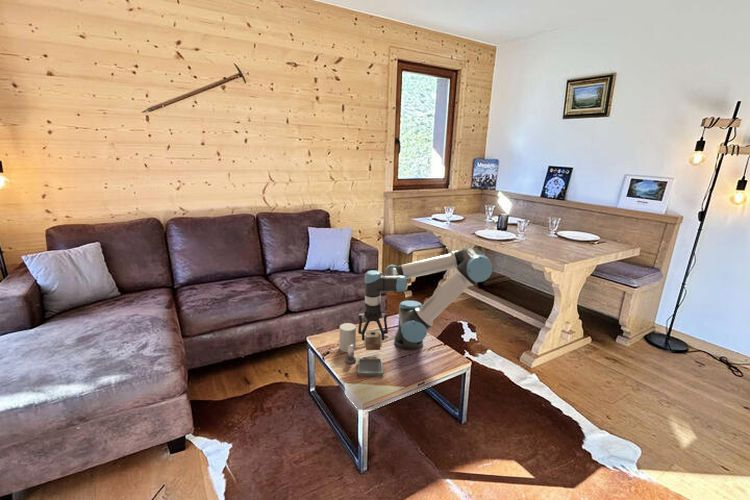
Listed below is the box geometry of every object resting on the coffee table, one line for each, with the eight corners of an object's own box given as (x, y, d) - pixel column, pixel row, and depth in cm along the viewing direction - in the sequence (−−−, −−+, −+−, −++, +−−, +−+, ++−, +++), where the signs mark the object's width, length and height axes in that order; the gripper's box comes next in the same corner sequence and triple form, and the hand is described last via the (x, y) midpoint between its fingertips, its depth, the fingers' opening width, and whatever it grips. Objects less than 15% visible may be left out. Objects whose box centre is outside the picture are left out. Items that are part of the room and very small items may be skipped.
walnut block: (379, 342, 189) (379, 330, 187) (380, 350, 182) (380, 337, 180) (365, 342, 189) (365, 330, 187) (365, 350, 182) (365, 337, 180)
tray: (381, 362, 182) (381, 358, 181) (382, 376, 171) (383, 372, 170) (358, 361, 181) (358, 358, 181) (357, 375, 170) (357, 372, 170)
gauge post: (356, 358, 184) (356, 342, 182) (355, 364, 179) (356, 348, 177) (345, 358, 184) (345, 342, 182) (345, 363, 179) (345, 348, 177)
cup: (353, 353, 189) (353, 331, 185) (337, 351, 190) (337, 329, 187) (357, 344, 196) (357, 324, 193) (342, 342, 198) (342, 322, 194)
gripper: (393, 299, 183) (392, 341, 189) (352, 299, 182) (352, 342, 189) (394, 305, 176) (393, 349, 182) (351, 306, 175) (352, 350, 182)
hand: (373, 345), depth 185 cm, fingers closed on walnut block, 7 cm apart
